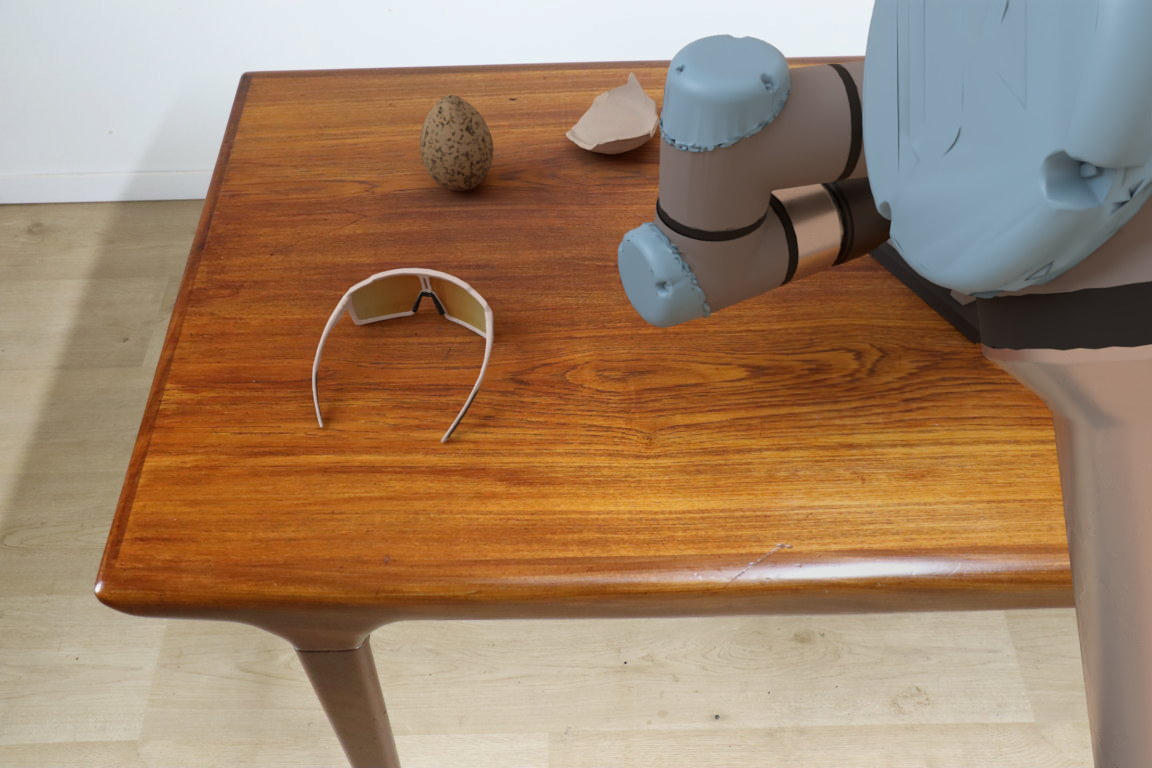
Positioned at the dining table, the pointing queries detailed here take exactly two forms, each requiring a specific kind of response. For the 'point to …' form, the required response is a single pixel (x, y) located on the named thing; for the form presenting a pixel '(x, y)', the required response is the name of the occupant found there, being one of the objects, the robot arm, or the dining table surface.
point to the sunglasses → (401, 298)
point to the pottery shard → (617, 120)
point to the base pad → (933, 292)
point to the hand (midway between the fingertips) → (1025, 145)
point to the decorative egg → (456, 144)
